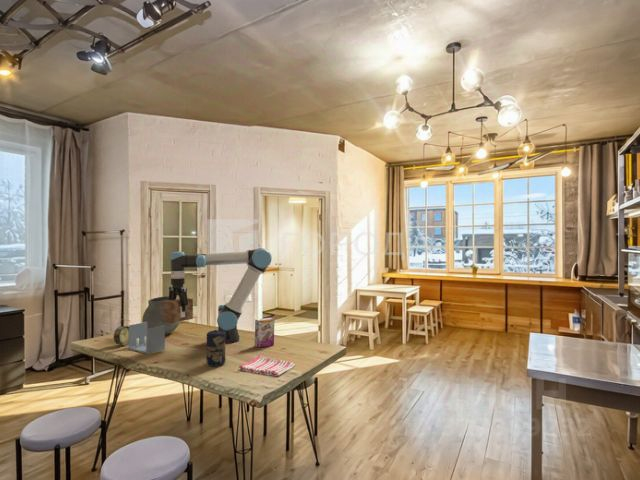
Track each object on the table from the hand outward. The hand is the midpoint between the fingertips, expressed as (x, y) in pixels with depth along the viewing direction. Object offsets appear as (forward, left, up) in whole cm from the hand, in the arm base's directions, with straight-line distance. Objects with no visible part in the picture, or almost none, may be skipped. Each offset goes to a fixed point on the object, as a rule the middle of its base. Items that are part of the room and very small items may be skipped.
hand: (177, 316), depth 218 cm
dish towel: (-66, -5, -20) cm, 69 cm away
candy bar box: (-38, -34, -20) cm, 54 cm away
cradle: (+15, +10, -19) cm, 27 cm away
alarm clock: (+34, +14, -20) cm, 42 cm away
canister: (-40, +6, -20) cm, 45 cm away
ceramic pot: (+39, -16, -20) cm, 47 cm away
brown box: (0, 0, -2) cm, 2 cm away
